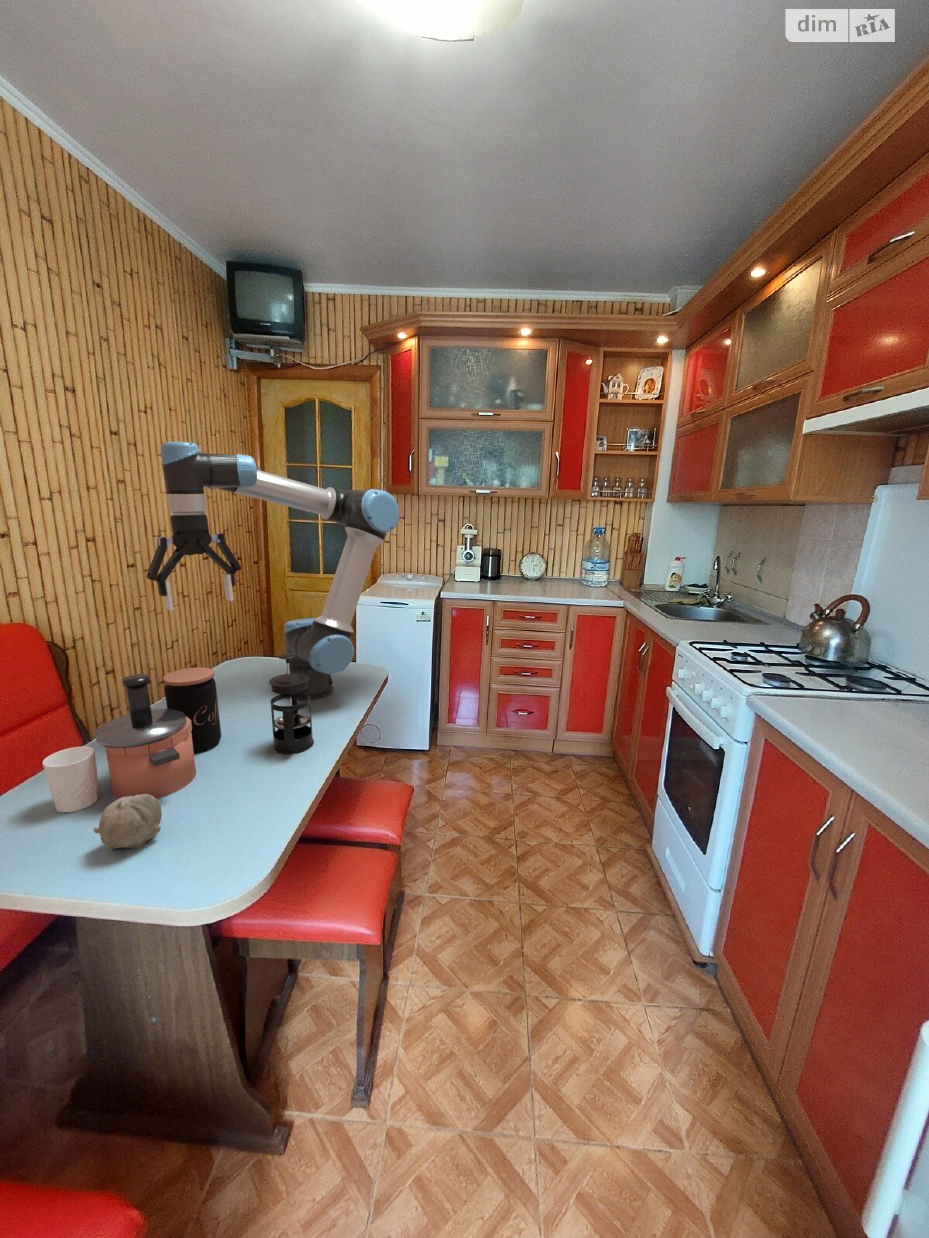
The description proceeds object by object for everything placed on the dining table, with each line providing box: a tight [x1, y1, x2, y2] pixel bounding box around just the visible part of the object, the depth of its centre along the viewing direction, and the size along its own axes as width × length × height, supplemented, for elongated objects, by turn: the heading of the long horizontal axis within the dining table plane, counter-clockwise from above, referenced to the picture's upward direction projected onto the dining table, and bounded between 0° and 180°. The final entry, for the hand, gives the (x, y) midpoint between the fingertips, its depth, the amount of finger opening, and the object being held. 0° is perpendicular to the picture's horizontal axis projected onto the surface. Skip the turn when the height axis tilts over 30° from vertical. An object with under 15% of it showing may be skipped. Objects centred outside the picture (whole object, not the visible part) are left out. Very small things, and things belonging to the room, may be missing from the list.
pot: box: [104, 716, 197, 800], centre depth 104 cm, size 21×15×12 cm
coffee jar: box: [162, 666, 222, 754], centre depth 119 cm, size 11×11×18 cm
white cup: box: [42, 746, 100, 814], centre depth 96 cm, size 8×8×10 cm
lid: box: [94, 673, 187, 748], centre depth 101 cm, size 16×16×13 cm
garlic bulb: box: [93, 794, 163, 850], centre depth 85 cm, size 9×8×10 cm
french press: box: [268, 652, 315, 755], centre depth 119 cm, size 12×9×23 cm
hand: (201, 604), depth 119 cm, fingers open, 13 cm apart
